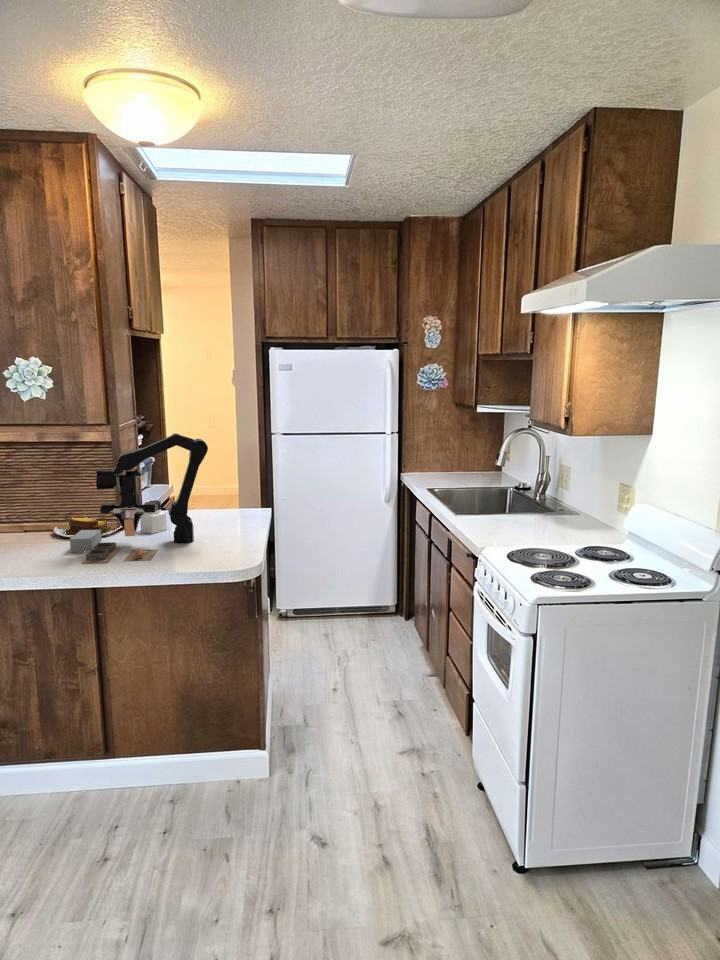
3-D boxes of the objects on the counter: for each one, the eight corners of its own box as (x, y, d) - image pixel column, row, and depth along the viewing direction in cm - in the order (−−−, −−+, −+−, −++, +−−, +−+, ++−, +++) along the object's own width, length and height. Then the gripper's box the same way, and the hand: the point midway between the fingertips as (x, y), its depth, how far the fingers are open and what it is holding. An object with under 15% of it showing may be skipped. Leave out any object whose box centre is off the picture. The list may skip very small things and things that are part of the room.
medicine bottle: (167, 530, 250) (165, 500, 247) (152, 534, 244) (151, 503, 241) (155, 527, 253) (153, 498, 251) (140, 531, 247) (139, 501, 245)
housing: (101, 542, 231) (100, 529, 230) (91, 552, 219) (90, 538, 218) (81, 543, 230) (80, 530, 229) (70, 552, 219) (69, 539, 218)
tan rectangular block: (136, 533, 227) (135, 517, 225) (134, 536, 223) (133, 519, 222) (127, 533, 226) (126, 517, 225) (125, 536, 223) (124, 520, 222)
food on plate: (133, 524, 258) (132, 509, 257) (108, 542, 234) (107, 525, 233) (72, 523, 259) (71, 508, 257) (41, 540, 234) (39, 523, 233)
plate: (158, 551, 222) (158, 541, 221) (150, 562, 209) (150, 552, 208) (132, 551, 221) (131, 541, 220) (123, 563, 208) (122, 552, 207)
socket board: (120, 551, 221) (119, 541, 221) (107, 565, 206) (106, 555, 205) (96, 551, 221) (96, 541, 220) (82, 565, 205) (81, 555, 204)
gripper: (159, 483, 231) (161, 524, 233) (107, 484, 228) (109, 525, 231) (153, 489, 220) (155, 532, 223) (98, 490, 218) (101, 533, 220)
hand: (130, 530), depth 225 cm, fingers closed on tan rectangular block, 3 cm apart
